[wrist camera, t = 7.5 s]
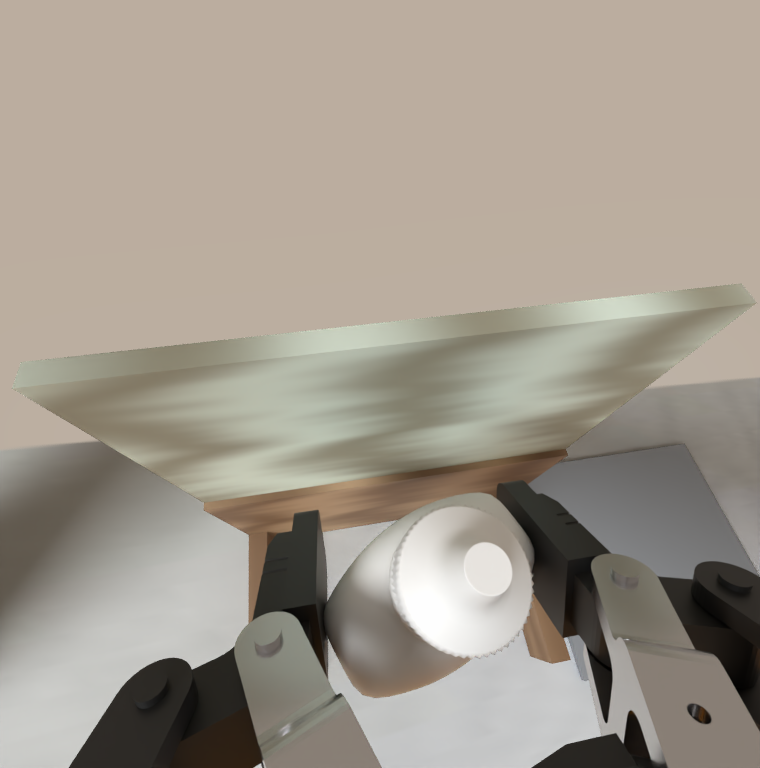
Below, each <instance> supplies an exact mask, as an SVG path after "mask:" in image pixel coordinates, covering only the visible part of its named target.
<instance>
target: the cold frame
mask: <svg viewBox="0 0 760 768" xmlns="http://www.w3.org/2000/svg"><path fill="white" fill-rule="evenodd" d="M756 303H757V302H756V301H755V300H754V299H753V297H752V296H751V295H750V293H749V292H748V291H747V290H746V289H745V287H744V286H743V285H742V284H734V285H724V286H715V287H706V288H697V289H687V290H679V291H669V292H660V293H651V294H642V295H633V296H623V297H614V298H605V299H596V300H587V301H577V302H569V303H559V304H550V305H541V306H532V307H522V308H514V309H504V310H495V311H486V312H477V313H468V314H459V315H449V316H440V317H431V318H422V319H414V320H403V321H394V322H385V323H376V324H367V325H357V326H349V327H340V328H330V329H321V330H312V331H302V332H293V333H285V334H275V335H266V336H257V337H249V338H238V339H229V340H220V341H211V342H202V343H193V344H183V345H174V346H165V347H156V348H147V349H138V350H128V351H119V352H110V353H101V354H92V355H83V356H74V357H64V358H55V359H46V360H37V361H28V362H21V364H20V367H19V370H18V372H17V376H16V379H15V382H14V385H13V387H12V389H14V390H15V391H17V392H19V393H20V394H22V395H24V396H25V397H27V398H29V399H30V400H32V401H34V402H36V403H37V404H39V405H41V406H42V407H44V408H46V409H47V410H49V411H51V412H52V413H54V414H56V415H57V416H59V417H61V418H62V419H64V420H66V421H68V422H69V423H71V424H73V425H74V426H76V427H78V428H79V429H81V430H83V431H84V432H86V433H88V434H90V435H91V436H93V437H95V438H96V439H98V440H99V441H101V442H103V443H104V444H106V445H108V446H110V447H111V448H113V449H115V450H116V451H118V452H120V453H121V454H123V455H125V456H126V457H128V458H130V459H131V460H133V461H135V462H136V463H138V464H140V465H141V466H143V467H145V468H147V469H148V470H150V471H152V472H153V473H155V474H157V475H158V476H160V477H162V478H163V479H165V480H167V481H168V482H170V483H172V484H173V485H175V486H177V487H178V488H180V489H182V490H183V491H185V492H187V493H189V494H190V495H192V496H194V497H195V498H197V499H199V500H200V501H202V502H204V511H206V512H208V513H210V514H212V515H214V516H215V517H217V518H219V519H221V520H223V521H224V522H226V523H228V524H230V525H232V526H234V527H235V528H237V529H239V530H241V531H243V532H245V533H246V534H248V535H249V623H250V622H252V619H253V614H254V610H255V605H256V600H257V595H258V590H259V585H260V581H261V576H262V571H263V566H264V563H265V556H266V552H267V547H268V545H269V544H270V542H271V541H272V540H273V538H274V537H275V536H276V534H277V533H283V532H289V531H292V525H293V517H294V513H298V512H305V511H312V510H319V513H320V519H321V526H322V532H325V531H332V530H338V529H344V528H350V527H356V526H363V525H369V524H375V523H381V522H387V521H394V520H399V519H401V518H403V517H404V516H406V515H407V514H409V513H411V512H413V511H415V510H416V509H419V508H421V507H423V506H425V505H427V504H430V503H432V502H435V501H438V500H441V499H444V498H448V497H452V496H456V495H461V494H467V493H478V492H480V493H485V494H490V495H492V496H493V497H495V498H496V497H497V485H498V484H499V483H504V482H511V481H518V480H523V481H525V482H526V483H527V484H529V483H530V482H532V481H533V480H534V479H536V478H537V477H538V476H540V475H541V474H543V473H544V472H545V471H547V470H548V469H550V468H551V467H552V466H554V465H555V464H556V463H558V462H559V461H561V460H562V459H563V458H565V457H566V456H568V454H567V451H566V448H567V447H569V446H570V445H571V444H573V443H574V442H575V441H576V440H578V439H579V438H580V437H582V436H583V435H584V434H586V433H587V432H588V431H590V430H591V429H592V428H594V427H595V426H596V425H597V424H599V423H600V422H601V421H603V420H604V419H605V418H607V417H608V416H609V415H611V414H612V413H613V412H614V411H616V410H617V409H618V408H620V407H621V406H622V405H624V404H625V403H626V402H628V401H629V400H630V399H632V398H633V397H634V396H635V395H637V394H638V393H639V392H641V391H642V390H643V389H645V388H646V387H647V386H649V384H651V383H652V382H654V381H655V380H656V379H658V378H659V377H660V376H661V375H663V374H664V373H666V372H667V371H668V370H670V368H672V367H673V366H675V365H676V364H677V363H679V362H680V361H681V360H683V359H684V358H685V357H687V356H688V355H689V354H691V353H692V352H693V351H694V350H696V349H697V348H698V347H700V346H701V345H702V344H704V343H705V342H706V341H707V340H709V339H710V338H711V337H713V336H714V335H715V334H717V333H718V332H719V331H721V330H722V329H723V328H725V327H726V326H727V325H729V324H730V323H731V322H732V321H733V320H735V319H736V318H738V317H739V316H740V315H742V314H743V313H744V312H745V311H747V310H748V309H750V308H751V307H752V306H753V305H755V304H756ZM532 597H533V599H534V600H533V601H532V602H531V605H532V608H531V609H530V610H529V612H530V616H528V617H527V623H525V624H524V630H523V632H524V636H525V639H526V643H527V646H528V650H529V653H530V656H531V657H534V658H537V659H540V660H543V661H546V662H549V663H552V664H553V663H558V662H562V661H567V660H571V659H570V656H569V653H568V650H567V647H566V644H565V641H564V638H562V636H561V635H560V633H559V632H558V630H557V629H556V627H555V626H554V624H553V623H552V621H551V620H550V618H549V617H548V615H547V614H546V612H545V611H544V609H543V608H542V606H541V604H540V603H539V601H538V600H537V598H536V597H535V595H534V594H532Z"/></svg>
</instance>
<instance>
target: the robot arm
mask: <svg viewBox="0 0 760 768" xmlns="http://www.w3.org/2000/svg"><path fill="white" fill-rule="evenodd" d="M496 499H498V500H499V501H500V502H501V503H502V504H503V505H504V506H505V507H506V508H507V510H508V511H509V512H510V513H511V514H512V516H513V517H514V518H515V519H516V521H517V522H518V523H519V525H520V526H521V527H522V528H523V530H524V531H525V533H526V534H527V536H528V537H529V538H530V541H531V543H532V545H533V548H534V565H533V569H532V575H533V577H532V581H533V583H534V585H533V586H532V588H533V590H534V593H533V594H534V595H535V597H536V598H537V600H538V601H539V603H540V604H541V606H542V608H543V609H544V611H545V612H546V614H547V615H548V617H549V618H550V620H551V621H552V623H553V624H554V626H555V627H556V629H557V630H558V632H559V633H560V635H561V636H562V638H565V637H570V636H575V635H579V636H580V637H581V639H582V640H583V641H584V651H583V656H584V661H585V665H586V670H587V674H588V679H589V683H590V688H591V692H592V696H593V701H594V705H595V710H596V714H597V719H598V723H599V727H600V732H601V737H596V738H592V739H588V740H583V741H579V742H575V743H570V744H566V745H565V746H563V747H562V748H560V749H559V750H557V751H556V752H554V753H553V754H551V755H550V756H548V757H547V758H545V759H544V760H542V761H541V762H539V763H538V764H536V765H535V766H533V767H532V768H760V577H759V576H757V575H756V574H754V573H752V572H750V571H748V570H746V569H743V568H741V567H738V566H736V565H732V564H729V563H724V562H718V561H706V562H702V563H700V564H698V565H697V566H696V567H695V570H694V575H693V579H683V578H671V577H660V576H657V575H656V574H655V573H654V572H653V571H652V570H651V569H650V568H649V567H648V566H646V565H645V564H643V563H641V562H640V561H638V560H636V559H633V558H631V557H628V556H624V555H620V554H612V553H611V552H610V551H609V550H608V549H606V548H605V547H604V546H603V545H602V544H601V543H600V542H599V541H598V540H597V539H596V538H595V537H594V536H593V535H592V534H591V533H590V532H589V531H588V530H587V529H586V528H585V527H584V526H583V525H582V524H581V523H578V520H577V519H576V518H574V517H573V516H572V515H571V514H569V512H568V511H567V510H566V509H565V508H564V507H563V506H562V505H561V504H560V503H559V502H558V501H556V500H554V499H552V498H550V497H548V496H547V495H545V494H543V493H541V494H536V493H535V492H534V491H533V490H532V489H531V488H530V486H529V485H528V484H527V483H526V482H525V481H523V480H518V481H511V482H504V483H499V484H498V485H497V497H496ZM326 604H327V566H326V555H325V548H324V541H323V533H322V526H321V519H320V513H319V510H312V511H305V512H298V513H294V517H293V525H292V531H289V532H283V533H277V534H276V536H275V537H274V538H273V540H272V541H271V542H270V544H269V545H268V547H267V552H266V556H265V563H264V566H263V571H262V576H261V581H260V585H259V590H258V595H257V600H256V605H255V610H254V614H253V619H252V622H250V623H249V624H248V625H247V626H246V627H245V628H244V629H243V630H242V632H241V633H240V635H239V636H238V638H237V641H236V644H235V647H233V648H232V649H231V650H230V651H228V652H227V653H225V654H224V655H222V656H220V657H218V658H216V659H214V660H212V661H210V662H208V663H206V664H203V665H201V666H199V667H197V668H195V669H193V670H192V669H191V667H190V665H189V664H188V663H187V662H186V661H184V660H183V659H179V658H166V659H162V660H159V661H156V662H154V663H152V664H150V665H148V666H146V667H145V668H143V669H141V670H140V671H139V672H137V673H136V674H135V675H134V676H132V677H131V678H130V679H129V680H128V681H127V682H126V683H125V684H124V686H123V687H122V688H121V689H120V691H119V692H118V693H117V695H116V696H115V698H114V699H113V701H112V703H111V704H110V706H109V707H108V709H107V710H106V712H105V713H104V715H103V716H102V718H101V719H100V721H99V722H98V724H97V725H96V727H95V728H94V730H93V732H92V733H91V735H90V736H89V738H88V739H87V741H86V742H85V744H84V745H83V747H82V748H81V750H80V751H79V753H78V754H77V756H76V757H75V759H74V760H73V762H72V764H71V765H70V767H69V768H253V767H255V766H257V765H258V764H260V763H261V766H262V768H382V767H381V765H380V763H379V761H378V759H377V757H376V756H375V754H374V752H373V750H372V748H371V746H370V744H369V742H368V740H367V738H366V736H365V734H364V732H363V730H362V728H361V726H360V725H359V723H358V721H357V719H356V717H355V715H354V713H353V711H352V709H351V707H350V705H349V703H348V702H347V700H346V699H345V697H344V696H343V695H342V694H341V693H340V694H338V695H336V694H335V693H334V691H333V689H332V687H331V685H330V683H329V681H328V636H327V634H326V632H325V627H324V619H323V618H324V611H325V606H326Z"/></svg>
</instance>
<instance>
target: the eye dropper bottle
mask: <svg viewBox="0 0 760 768" xmlns="http://www.w3.org/2000/svg"><path fill="white" fill-rule="evenodd" d="M533 565H534V548H533V545H532V543H531V541H530V538H529V537H528V536H527V534H526V533H525V531H524V530H523V528H522V527H521V526H520V525H519V523H518V522H517V521H516V519H515V518H514V517H513V516H512V514H511V513H510V512H509V511H508V510H507V508H506V507H505V506H504V505H503V504H502V503H501V502H500V501H499V500H498V499H496V498H495V497H493V496H492V495H490V494H485V493H480V492H478V493H467V494H461V495H456V496H452V497H448V498H444V499H441V500H438V501H435V502H432V503H430V504H427V505H425V506H423V507H421V508H419V509H416V510H415V511H413V512H411V513H409V514H407V515H406V516H404V517H403V518H401V519H399V520H398V521H396V522H395V523H394V524H392V525H391V526H390V527H388V528H387V529H386V530H384V531H383V532H382V533H381V534H380V535H379V536H377V537H376V538H375V539H374V540H373V541H372V542H371V543H370V544H369V545H368V546H367V547H366V548H365V549H364V550H363V551H362V552H361V554H360V555H359V556H358V557H357V558H356V559H355V561H354V562H353V563H352V564H351V566H350V567H349V568H348V570H347V571H346V573H345V574H344V575H343V577H342V578H341V580H340V581H339V583H338V584H337V586H336V587H335V589H334V591H333V592H332V594H331V596H330V598H329V600H328V602H327V604H326V606H325V611H324V618H323V619H324V627H325V632H326V634H327V636H328V639H329V641H330V643H331V645H332V647H333V649H334V651H335V653H336V655H337V657H338V659H339V661H340V663H341V665H342V667H343V669H344V671H345V673H346V674H347V676H348V678H349V679H350V681H351V683H352V685H353V686H354V687H355V688H356V689H357V690H358V691H359V692H360V693H361V694H362V695H365V696H369V697H373V698H380V697H389V696H394V695H398V694H402V693H406V692H409V691H412V690H415V689H418V688H421V687H424V686H426V685H429V684H431V683H433V682H436V681H438V680H440V679H442V678H444V677H446V676H447V675H449V674H451V673H452V672H454V671H456V670H457V669H459V668H460V667H462V666H463V665H465V664H466V663H467V662H469V661H470V660H471V659H473V658H474V657H477V658H479V659H480V658H481V657H482V655H483V656H485V657H488V656H489V654H490V653H491V654H493V655H495V653H496V651H497V650H498V651H501V652H502V649H503V647H504V646H505V647H508V646H509V642H510V641H511V642H514V639H515V636H519V631H520V630H524V624H525V623H527V617H528V616H530V612H529V610H530V609H531V608H532V605H531V602H532V601H533V600H534V599H533V597H532V594H533V593H534V590H533V588H532V586H533V585H534V583H533V581H532V577H533V575H532V569H533Z"/></svg>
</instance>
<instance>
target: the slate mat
mask: <svg viewBox="0 0 760 768" xmlns="http://www.w3.org/2000/svg"><path fill="white" fill-rule="evenodd" d="M528 485H529V486H530V488H531V489H532V490H533V491H534V492H535V493H536V494H541V493H543V494H545V495H547V496H548V497H550V498H552V499H554V500H556V501H558V502H559V503H560V504H561V505H562V506H563V507H564V508H565V509H566V510H567V511H568V512H569V514H571V515H572V516H573V517H574V518H576V519H577V520H578V523H581V524H582V525H583V526H584V527H585V528H586V529H587V530H588V531H589V532H590V533H591V534H592V535H593V536H594V537H595V538H596V539H597V540H598V541H599V542H600V543H601V544H602V545H603V546H604V547H605V548H606V549H608V550H609V551H610V552H611V553H612V554H620V555H624V556H628V557H631V558H633V559H636V560H638V561H640V562H641V563H643V564H645V565H646V566H648V567H649V568H650V569H651V570H652V571H653V572H654V573H655V574H656V575H657V576H660V577H671V578H683V579H693V575H694V570H695V567H696V566H697V565H698V564H700V563H702V562H706V561H718V562H724V563H729V564H732V565H736V566H738V567H741V568H743V569H746V570H748V571H750V572H752V573H754V574H756V575H757V576H759V575H758V573H757V571H756V570H755V568H754V566H753V564H752V563H751V561H750V559H749V557H748V555H747V554H746V552H745V550H744V548H743V547H742V545H741V543H740V541H739V539H738V538H737V536H736V534H735V532H734V531H733V529H732V527H731V525H730V524H729V522H728V520H727V518H726V516H725V515H724V513H723V511H722V509H721V508H720V506H719V504H718V502H717V500H716V499H715V497H714V495H713V493H712V492H711V490H710V488H709V486H708V484H707V483H706V481H705V479H704V477H703V476H702V474H701V472H700V470H699V469H698V467H697V465H696V463H695V461H694V460H693V458H692V456H691V454H690V453H689V451H688V449H687V447H686V445H685V444H679V445H672V446H666V447H659V448H653V449H646V450H640V451H633V452H627V453H620V454H614V455H607V456H600V457H594V458H587V459H581V460H574V461H568V462H561V463H556V464H555V465H554V466H552V467H551V468H550V469H548V470H547V471H545V472H544V473H543V474H541V475H540V476H538V477H537V478H536V479H534V480H533V481H532V482H530V483H529V484H528ZM568 639H569V642H570V645H571V648H572V651H573V654H574V658H575V661H576V664H577V667H578V670H579V673H580V676H581V679H582V680H584V681H587V680H589V679H588V674H587V670H586V665H585V661H584V656H583V651H584V641H583V640H582V639H581V637H580V636H579V635H575V636H570V637H568Z"/></svg>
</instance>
